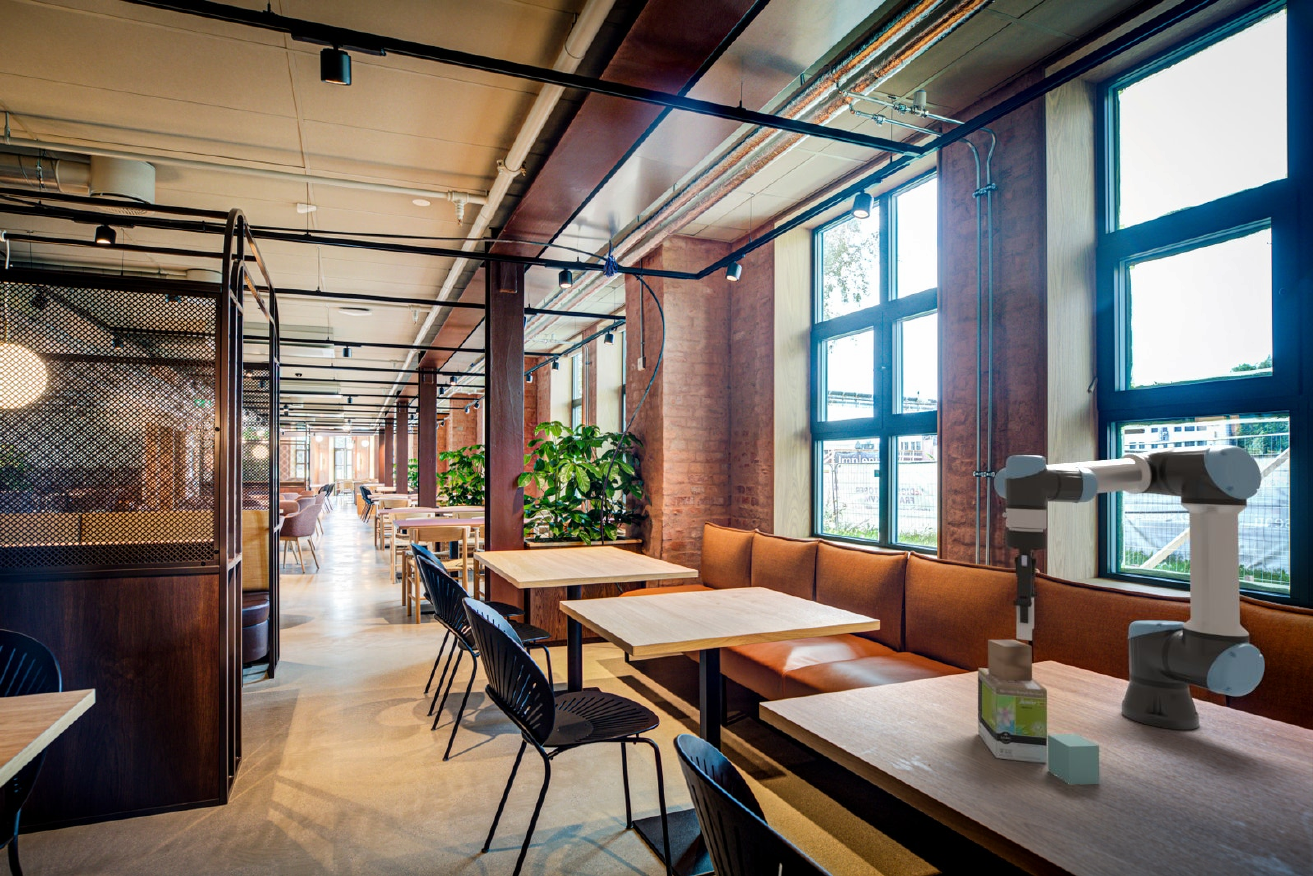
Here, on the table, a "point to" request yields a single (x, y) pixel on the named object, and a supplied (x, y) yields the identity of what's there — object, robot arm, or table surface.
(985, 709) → the tea box
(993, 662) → the walnut block
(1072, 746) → the teal block
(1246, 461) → the robot arm
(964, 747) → the table surface
